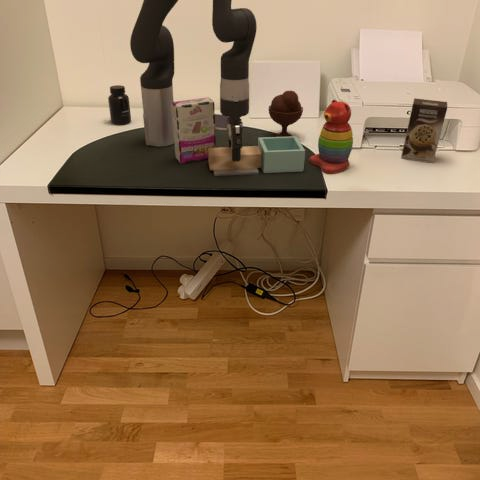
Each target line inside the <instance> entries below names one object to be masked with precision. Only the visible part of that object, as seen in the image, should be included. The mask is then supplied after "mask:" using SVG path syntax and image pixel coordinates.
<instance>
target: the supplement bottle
mask: <svg viewBox="0 0 480 480" xmlns="http://www.w3.org/2000/svg"><path fill="white" fill-rule="evenodd" d="M109 92H110V93H109V94H110V95H108V98H107V99H108V100H107V101H108V108H109V115H110V116H109V117H110V122H111V124H113V125H116V126H125V125H128V124H130V123H131V122H132V115H131V103H130V98H129V95H127V94H126V87H125V86H124V85H122V84H121V85H112V86H109Z"/></svg>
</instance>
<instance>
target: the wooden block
mask: <svg viewBox="0 0 480 480" xmlns="http://www.w3.org/2000/svg"><path fill="white" fill-rule="evenodd" d="M207 160H208V161H207V162H208V167H209V171H213V170H225V169H248V168H257V169H262V167H261V152H260V150H259V148H258V145H252V146H249V145H248V146H243V147H242V148H241V155H240V161H232V147H229V146H226V147H225V146H223V147H216V148H208V159H207Z"/></svg>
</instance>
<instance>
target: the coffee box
mask: <svg viewBox="0 0 480 480" xmlns="http://www.w3.org/2000/svg"><path fill="white" fill-rule="evenodd" d="M447 111H448V101H440V100H432V99H431V100H430V99H425V98H416V97H415V98H413V102H412V107H411V111H410V117H409V121H408V125H407V130H406V134H405V138H404V142H403V146H402V150H401V151H402V152H401V157H400V158H401V159H405V160H411V161H416V162H417V161H419V162H426V163H434V161H435V157H436V152H437V150H438V145H439V141H440V138H441V134H442V130H443V127H444V126H443V125H444V122H445V119H446V114H447Z"/></svg>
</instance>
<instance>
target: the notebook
mask: <svg viewBox="0 0 480 480" xmlns="http://www.w3.org/2000/svg"><path fill="white" fill-rule="evenodd" d="M226 120H227V116H224V115H222V114H221V113H220V114H219V113H217V114H216V113H215V130H217V129H218V130H219V131H227V122H226Z"/></svg>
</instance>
